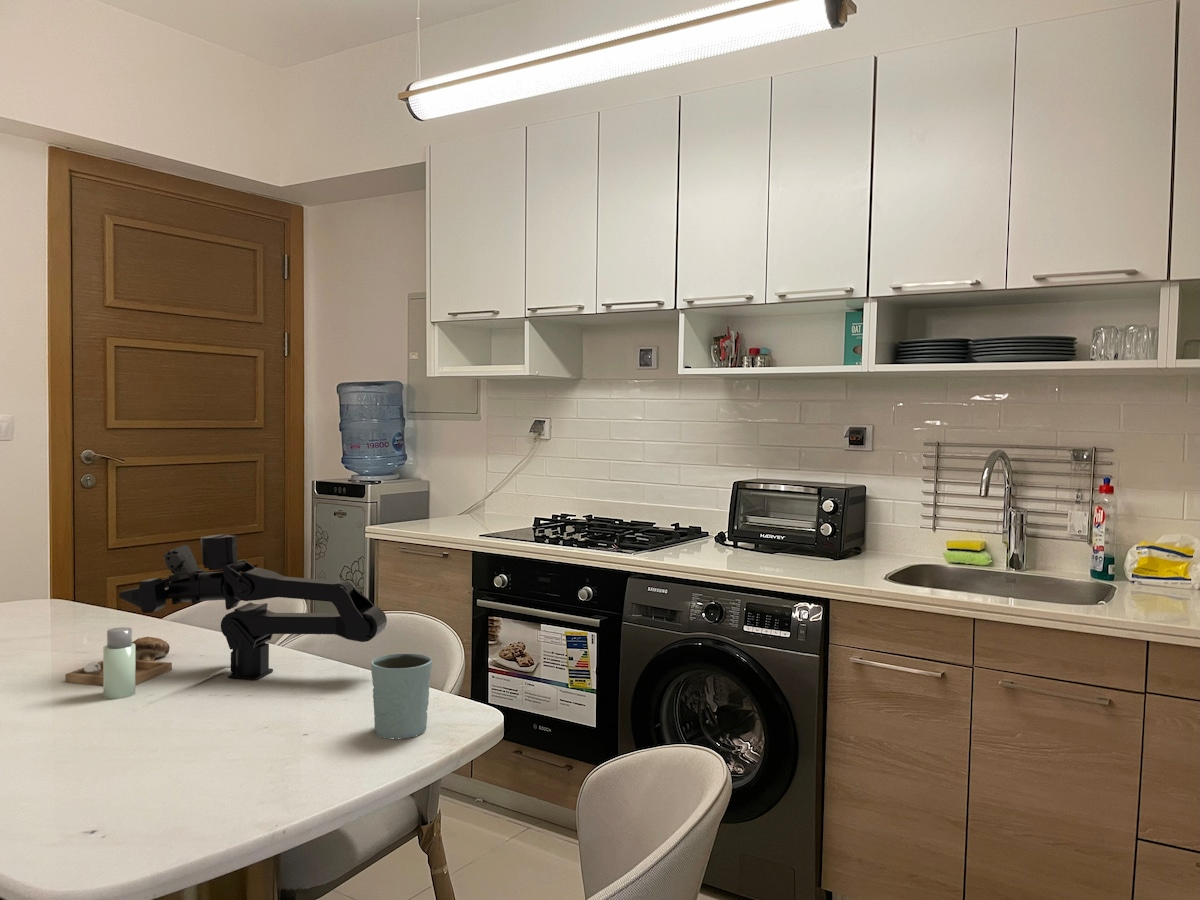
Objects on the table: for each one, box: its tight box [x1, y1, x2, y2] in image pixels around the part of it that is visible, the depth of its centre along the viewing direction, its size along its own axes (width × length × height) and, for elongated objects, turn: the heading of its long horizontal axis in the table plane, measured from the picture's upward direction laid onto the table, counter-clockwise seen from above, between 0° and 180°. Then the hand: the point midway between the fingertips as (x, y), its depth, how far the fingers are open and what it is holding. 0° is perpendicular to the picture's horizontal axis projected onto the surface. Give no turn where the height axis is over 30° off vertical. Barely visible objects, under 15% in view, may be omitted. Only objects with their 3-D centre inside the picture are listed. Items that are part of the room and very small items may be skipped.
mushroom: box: [132, 636, 170, 661], centre depth 188 cm, size 8×8×6 cm
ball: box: [83, 661, 102, 675], centre depth 175 cm, size 3×3×3 cm
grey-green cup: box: [370, 652, 433, 740], centre depth 152 cm, size 10×10×12 cm
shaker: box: [102, 626, 136, 700], centre depth 165 cm, size 5×5×13 cm
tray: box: [65, 660, 173, 687], centre depth 176 cm, size 14×12×2 cm
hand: (133, 590), depth 183 cm, fingers open, 9 cm apart
